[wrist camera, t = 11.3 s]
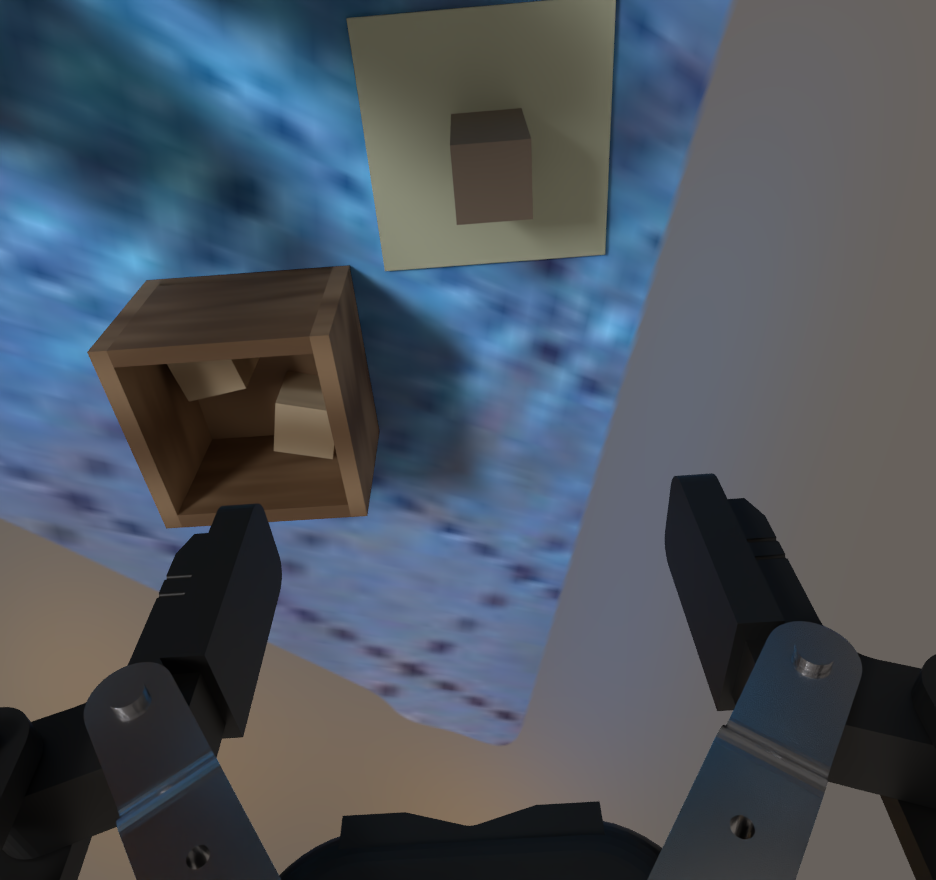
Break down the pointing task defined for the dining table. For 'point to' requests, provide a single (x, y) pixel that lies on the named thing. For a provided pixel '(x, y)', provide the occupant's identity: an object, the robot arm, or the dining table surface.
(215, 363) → the maple block
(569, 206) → the lid
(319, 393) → the maple block
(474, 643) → the dining table surface
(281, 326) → the box
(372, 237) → the dining table surface
